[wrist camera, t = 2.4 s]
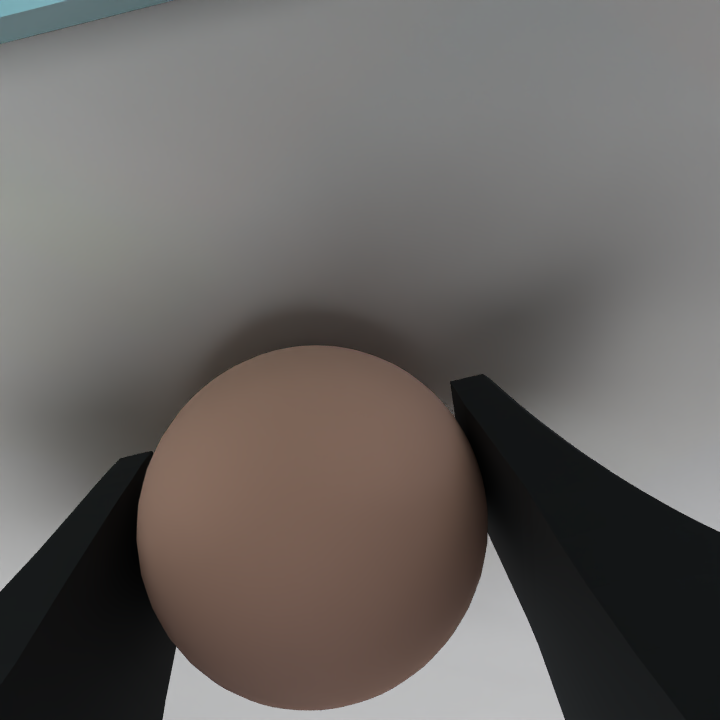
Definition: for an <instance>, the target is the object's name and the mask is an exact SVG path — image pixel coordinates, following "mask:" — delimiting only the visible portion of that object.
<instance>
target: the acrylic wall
mask: <svg viewBox="0 0 720 720" xmlns="http://www.w3.org/2000/svg"><path fill="white" fill-rule="evenodd" d="M169 1H173V0H0V44H2V43H6V42H10V41H14V40H18V39H22V38H26V37H30V36H34V35H38V34H42V33H46V32H50V31H54V30H58V29H62V28H66V27H70V26H74V25H78V24H82V23H86V22H90V21H94V20H98V19H102V18H106V17H110V16H113V15H117V14H121V13H125V12H129V11H133V10H137V9H141V8H145V7H149V6H153V5H157V4H161V3H165V2H169Z"/></svg>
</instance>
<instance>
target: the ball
mask: <svg viewBox="0 0 720 720" xmlns="http://www.w3.org/2000/svg"><path fill="white" fill-rule="evenodd" d="M487 533H488V509H487V502H486V494H485V488H484V484H483V479H482V475H481V472H480V468H479V465H478V462H477V459H476V457H475V454H474V452H473V449H472V447H471V445H470V443H469V441H468V439H467V437H466V435H465V433H464V431H463V430H462V428H461V427H460V425H459V423H458V422H457V420H456V419H455V417H454V416H453V414H452V413H451V412H450V411H449V410H448V408H447V407H446V406H445V405H444V404H443V403H442V401H441V400H440V399H439V398H438V397H437V396H436V395H435V394H434V393H433V392H432V391H431V390H430V389H429V388H427V387H426V386H425V385H424V384H422V383H421V382H420V381H419V380H417V379H416V378H415V377H414V376H412V375H411V374H410V373H408V372H406V371H405V370H403V369H401V368H400V367H398V366H396V365H395V364H392V363H390V362H388V361H386V360H383V359H381V358H379V357H376V356H374V355H371V354H368V353H364V352H361V351H357V350H354V349H349V348H343V347H337V346H323V345H309V346H295V347H290V348H284V349H278V350H275V351H271V352H268V353H264V354H261V355H258V356H256V357H254V358H251V359H249V360H247V361H244V362H242V363H240V364H238V365H236V366H234V367H232V368H231V369H229V370H227V371H225V372H224V373H222V374H220V375H219V376H217V377H216V378H215V379H213V380H212V381H211V382H210V383H208V384H207V385H206V386H204V387H203V388H202V389H201V390H200V391H199V392H198V393H197V394H195V395H194V396H193V397H192V398H191V400H190V401H189V402H188V403H187V404H186V405H185V406H184V407H183V408H182V409H181V410H180V411H179V413H178V414H177V416H176V417H175V419H174V420H173V421H172V423H171V424H170V426H169V427H168V429H167V430H166V432H165V433H164V434H163V436H162V437H161V439H160V442H159V444H158V446H157V448H156V450H155V452H154V454H153V457H152V459H151V461H150V463H149V466H148V468H147V471H146V475H145V478H144V482H143V486H142V490H141V495H140V499H139V503H138V517H137V538H136V541H137V548H138V555H139V563H140V570H141V576H142V579H143V582H144V585H145V588H146V591H147V594H148V597H149V600H150V603H151V606H152V609H153V610H154V612H155V614H156V616H157V618H158V619H159V621H160V623H161V625H162V627H163V628H164V630H165V632H166V633H167V635H168V637H169V638H170V640H171V641H172V642H173V643H174V644H175V645H176V647H177V648H178V649H179V650H180V651H181V652H182V654H183V655H184V656H185V657H186V658H187V659H188V661H189V662H190V663H191V664H192V665H194V666H195V667H196V668H197V669H198V670H199V671H201V672H202V673H203V674H205V675H206V676H207V677H208V678H210V679H211V680H212V681H214V682H215V683H217V684H218V685H220V686H221V687H223V688H225V689H226V690H229V691H231V692H233V693H235V694H237V695H239V696H242V697H244V698H246V699H248V700H251V701H254V702H257V703H259V704H263V705H267V706H271V707H276V708H282V709H292V710H325V709H333V708H339V707H344V706H348V705H352V704H355V703H359V702H362V701H365V700H368V699H371V698H374V697H376V696H378V695H381V694H383V693H385V692H387V691H389V690H391V689H393V688H394V687H396V686H397V685H399V684H400V683H402V682H403V681H405V680H406V679H408V678H409V677H411V676H412V675H414V674H415V673H416V672H417V671H419V670H420V669H421V668H423V667H424V666H425V665H426V664H427V663H428V662H429V661H430V660H431V659H432V658H433V657H434V656H435V655H436V654H437V652H438V651H439V650H440V649H441V648H442V647H443V646H444V645H445V644H446V642H447V641H448V640H449V639H450V637H451V636H452V635H453V633H454V631H455V630H456V628H457V627H458V625H459V623H460V622H461V620H462V618H463V617H464V615H465V613H466V611H467V610H468V608H469V606H470V603H471V601H472V598H473V596H474V593H475V591H476V588H477V585H478V582H479V580H480V577H481V573H482V568H483V563H484V558H485V553H486V547H487Z"/></svg>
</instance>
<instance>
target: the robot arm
mask: <svg viewBox="0 0 720 720" xmlns="http://www.w3.org/2000/svg"><path fill="white" fill-rule="evenodd" d="M450 384H451V391H452V398H453V404H454V411H455V418H456V420H457V422H458V423H459V425H460V427H461V428H462V430H463V431H464V433H465V435H466V437H467V439H468V441H469V443H470V445H471V447H472V449H473V452H474V454H475V457H476V459H477V462H478V465H479V468H480V472H481V475H482V479H483V484H484V488H485V494H486V502H487V509H488V534H489V536H490V538H491V541H492V543H493V545H494V547H495V549H496V552H497V554H498V556H499V558H500V560H501V562H502V565H503V567H504V569H505V571H506V573H507V575H508V578H509V580H510V582H511V584H512V586H513V588H514V591H515V593H516V595H517V597H518V599H519V601H520V604H521V606H522V608H523V610H524V612H525V614H526V617H527V619H528V621H529V623H530V626H531V628H532V631H533V633H534V635H535V638H536V640H537V643H538V645H539V648H540V651H541V653H542V656H543V659H544V662H545V665H546V667H547V670H548V673H549V676H550V679H551V681H552V684H553V687H554V690H555V692H556V695H557V698H558V701H559V704H560V707H561V709H562V712H563V715H564V718H565V720H720V532H718V531H716V530H714V529H712V528H710V527H708V526H706V525H704V524H702V523H700V522H698V521H696V520H694V519H692V518H690V517H688V516H686V515H684V514H682V513H681V512H679V511H677V510H675V509H673V508H671V507H669V506H668V505H666V504H664V503H662V502H661V501H659V500H657V499H655V498H654V497H652V496H650V495H648V494H647V493H645V492H643V491H641V490H640V489H638V488H636V487H635V486H633V485H631V484H630V483H628V482H627V481H625V480H623V479H622V478H620V477H619V476H617V475H615V474H614V473H612V472H611V471H609V470H608V469H606V468H605V467H603V466H602V465H600V464H599V463H597V462H596V461H594V460H593V459H591V458H590V457H588V456H587V455H585V454H584V453H582V452H581V451H580V450H578V449H577V448H575V447H574V446H573V445H571V444H570V443H568V442H567V441H566V440H564V439H563V438H562V437H560V436H559V435H558V434H556V433H555V432H554V431H552V430H551V429H550V428H548V427H547V426H546V425H544V424H543V423H542V422H540V421H539V420H538V419H537V418H535V417H534V416H533V415H532V414H530V413H529V412H528V411H527V410H526V409H524V408H523V407H522V406H521V405H519V404H518V403H517V402H516V401H515V400H514V399H512V398H511V397H510V396H509V395H508V394H507V393H505V392H504V391H503V390H502V389H501V388H500V387H499V386H497V385H496V384H495V383H494V382H493V381H492V380H491V379H490V378H488V377H487V376H485V375H484V374H481V375H477V376H472V377H468V378H464V379H459V380H455V381H451V382H450ZM152 457H153V452H152V451H150V452H145V453H141V454H137V455H132V456H128V457H124V458H120V459H119V460H118V461H117V462H116V463H115V464H114V465H113V466H112V467H111V469H110V470H109V471H108V472H107V473H106V474H105V475H104V476H103V477H102V478H101V480H100V481H99V482H98V483H97V484H96V485H95V486H94V488H93V489H92V490H91V491H90V492H89V493H88V494H87V496H86V497H85V498H84V499H83V500H82V501H81V503H80V504H79V505H78V506H77V507H76V508H75V509H74V511H73V512H72V513H71V514H70V515H69V516H68V518H67V519H66V520H65V521H64V522H63V523H62V524H61V526H60V527H59V528H58V529H57V530H56V531H55V532H54V534H53V535H52V536H51V537H50V538H49V539H48V540H47V542H46V543H45V544H44V545H43V546H42V547H41V548H40V550H39V551H38V552H37V553H36V554H35V555H34V556H33V557H32V558H31V559H30V560H29V562H28V563H27V564H26V565H25V566H24V567H23V568H22V569H21V570H20V571H19V572H18V573H17V574H16V575H15V576H14V578H13V579H12V580H11V581H10V582H9V583H8V584H7V585H6V586H5V587H4V588H3V589H2V590H1V591H0V720H162V719H163V713H164V707H165V700H166V695H167V690H168V685H169V680H170V675H171V670H172V665H173V660H174V655H175V650H176V645H175V644H174V643H173V642H172V641H171V640H170V638H169V637H168V635H167V633H166V632H165V630H164V628H163V627H162V625H161V623H160V621H159V619H158V618H157V616H156V614H155V612H154V610H153V609H152V606H151V603H150V600H149V597H148V594H147V591H146V588H145V585H144V582H143V579H142V576H141V570H140V563H139V555H138V548H137V541H136V538H137V517H138V503H139V499H140V495H141V490H142V486H143V482H144V478H145V475H146V471H147V468H148V466H149V463H150V461H151V459H152Z"/></svg>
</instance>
